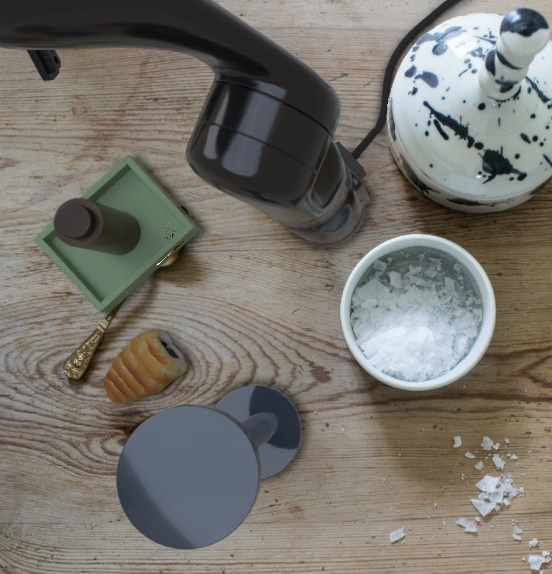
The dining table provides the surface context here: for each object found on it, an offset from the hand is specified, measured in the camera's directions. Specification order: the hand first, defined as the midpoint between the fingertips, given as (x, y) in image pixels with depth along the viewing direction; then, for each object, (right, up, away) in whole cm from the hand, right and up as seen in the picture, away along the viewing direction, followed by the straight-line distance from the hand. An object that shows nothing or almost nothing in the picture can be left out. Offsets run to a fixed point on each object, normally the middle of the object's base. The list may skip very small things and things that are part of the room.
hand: (5, 83), depth 55 cm
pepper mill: (+1, -12, +18) cm, 21 cm away
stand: (+17, -35, +18) cm, 43 cm away
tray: (+1, -12, +19) cm, 22 cm away
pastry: (+5, -28, +18) cm, 33 cm away
